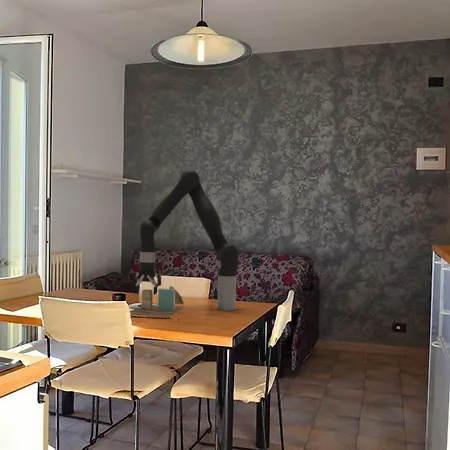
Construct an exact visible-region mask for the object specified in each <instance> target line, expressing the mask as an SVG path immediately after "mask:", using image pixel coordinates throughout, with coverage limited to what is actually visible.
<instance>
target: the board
mask: <svg viewBox="0 0 450 450" xmlns="http://www.w3.org/2000/svg"><path fill="white" fill-rule="evenodd" d="M185 308H186V306H178V305H175V310H163V309H158V304H152V308H151V309H142V305H141V306H138V307H136V308H134V309H132V310H130V313H131V315H130V316H131V317H130V318H132V319H133V318H137V319H153V320H167V319H169V320H171V318H172V317H171V316H173V315H175V314H176V313H178V312H180V311H181V310H183V309H185ZM170 317H171V318H170Z"/></svg>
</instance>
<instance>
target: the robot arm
mask: <svg viewBox="0 0 450 450" xmlns="http://www.w3.org/2000/svg"><path fill="white" fill-rule="evenodd" d="M199 175H200V174H198V172H197V171H196V170H194V169H191V168H187V169H184V170H183V171H182V172H181V174H180V176H179V180H178V182H177V184H176V186H175V187H174V188H173V189H172V190H171V191H170V192H169V194H168V195H167V196H165V197H164V198H163V199H162V201H160V202H159V204H158V205H157V206H156V207H155V209H153V211H152V214H151V215H150V216H149V218H148V219H147V220H144V221H143V222H141V224H140V227H139V233H140V234H139V235H140V237H139V238H140V253H139V254H140V255H139V272H138V271H134V272H133V273H132V281H131V284H132V285H133V286H135V292H136V294H138V295H139V294H140V293H141V284H142V283H143V282H144V283H150V284H152V286H153V291H152V295H157V294H158V287H160V286H162V273H156V242H155V233H156V232H157V230H158V229H159V228H160V226H161V225H162V224H163V222H164V221H165V220H166V219H167V217H169V216H170V214H171V213H172V212H173V210H174V209H175V208H176V207H177V206H178V204H179V203H180V201H182V199H184V197H186V196H187V195H189V196H190V199H191V201H192V204H193V207H194V210H195V212H196V215H197V216H198V219H199V221H200V223H201V225H202V226H203V229H204V231H205V232H206V235H207V236H208V237H209V240H210V242H211V245H212V247H213V250H214V251H215V252H214V254H215V255H216V257H217V259H218V260H219V261H220V267H219V269H218V270H217V310H218V311H222V312H224V311H225V312H227V311H229V312H230V311H235V310H236V309H237V307H236V304H237V303H236V302H237V298H236V297H237V296H236V295H237V292H236V291H237V272H238V269H239V250H238V247H236V245H233V244H231V243H229V242H228V240H227V239H226V237H225V235H224V233H223V229H222V223H221V219H220V216H219V214H218V212H217V210H216V208H215V207H214V205H213V203H212V201H211V200H210V199H209V198H208V196H207V194H206V193H205V191H204V189H203V185H202V184H201V181H200V176H199ZM138 276H139V279H138V280H137V278H138ZM155 277H156V279H157V282H156V279H155Z"/></svg>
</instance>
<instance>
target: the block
mask: <svg viewBox="0 0 450 450" xmlns="http://www.w3.org/2000/svg"><path fill="white" fill-rule="evenodd" d="M153 291H154V289H142V290H141V306H142V309H151V308H152V305H153Z"/></svg>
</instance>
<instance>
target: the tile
mask: <svg viewBox="0 0 450 450" xmlns="http://www.w3.org/2000/svg"><path fill="white" fill-rule="evenodd" d="M175 290H176V288H174V289H169V288H162V287H161V288H160V287H159V288H157V294H158V297H157V301H158V303H157V305H158V309H163V310H175V306H176V304H175Z"/></svg>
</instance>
